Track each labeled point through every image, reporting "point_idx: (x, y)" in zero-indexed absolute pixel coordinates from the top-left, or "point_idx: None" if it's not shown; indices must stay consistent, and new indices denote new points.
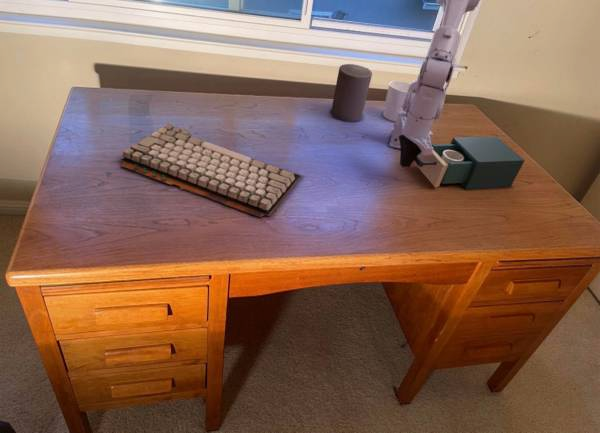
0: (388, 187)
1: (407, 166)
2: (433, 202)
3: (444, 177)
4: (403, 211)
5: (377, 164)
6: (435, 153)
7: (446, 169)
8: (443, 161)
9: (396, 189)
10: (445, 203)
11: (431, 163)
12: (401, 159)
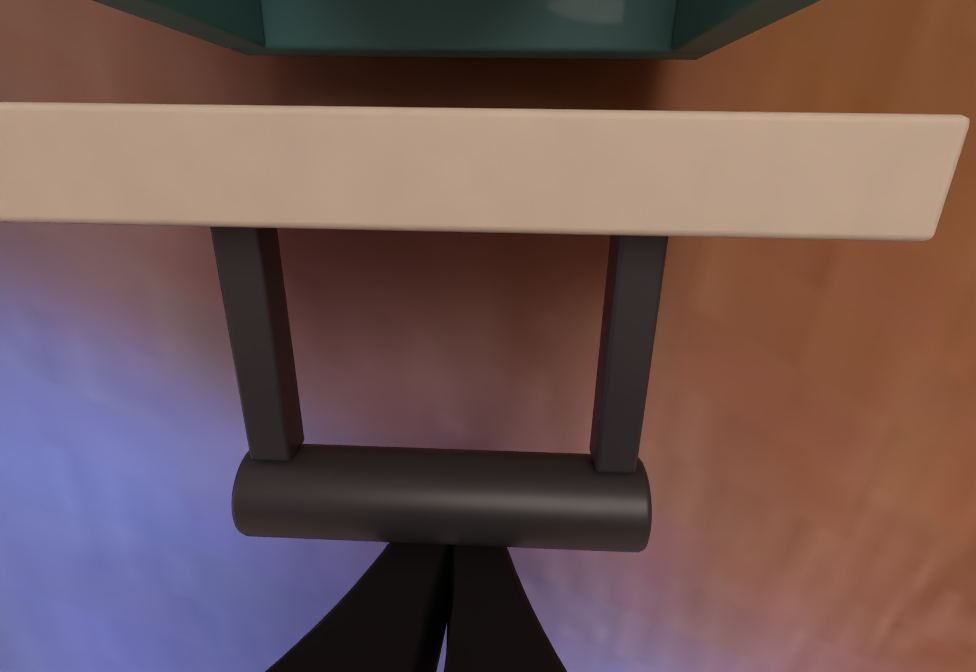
0: (567, 556)
1: None
2: (862, 296)
3: (721, 43)
4: (861, 579)
5: None
6: (431, 156)
7: (754, 12)
8: (797, 140)
9: None
10: None
11: (653, 340)
12: (441, 643)
